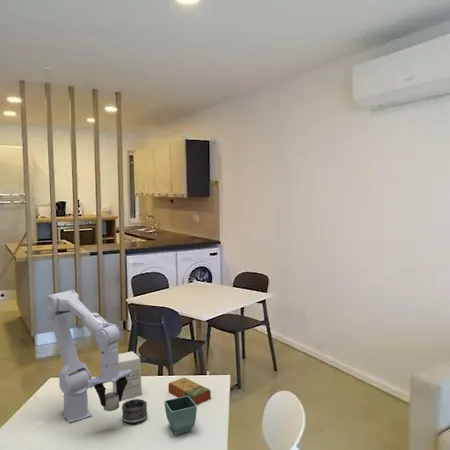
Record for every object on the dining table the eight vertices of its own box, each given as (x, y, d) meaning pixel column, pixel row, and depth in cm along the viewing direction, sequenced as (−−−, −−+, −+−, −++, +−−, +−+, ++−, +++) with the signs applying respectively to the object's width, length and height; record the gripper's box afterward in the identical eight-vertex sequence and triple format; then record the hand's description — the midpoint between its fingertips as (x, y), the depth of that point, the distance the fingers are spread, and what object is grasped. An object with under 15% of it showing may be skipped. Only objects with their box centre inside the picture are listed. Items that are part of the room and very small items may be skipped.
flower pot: (164, 426, 151) (163, 400, 150) (189, 420, 154) (188, 395, 153) (172, 439, 143) (171, 411, 142) (198, 432, 146) (197, 406, 145)
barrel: (118, 417, 157) (117, 403, 157) (140, 410, 162) (140, 396, 162) (128, 427, 150) (128, 413, 150) (151, 419, 155) (151, 405, 155)
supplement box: (112, 392, 177) (110, 355, 176) (134, 386, 182) (132, 350, 181) (119, 401, 169) (117, 362, 168) (142, 395, 174) (140, 357, 173)
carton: (185, 386, 182) (185, 376, 181) (211, 399, 170) (211, 388, 170) (168, 393, 176) (168, 382, 176) (194, 407, 164) (193, 395, 164)
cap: (101, 406, 149) (100, 395, 149) (115, 402, 152) (115, 390, 152) (107, 412, 145) (106, 400, 145) (121, 408, 148) (121, 396, 148)
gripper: (92, 372, 140) (93, 414, 141) (135, 360, 148) (136, 400, 149) (84, 365, 146) (86, 405, 147) (126, 354, 154) (127, 393, 155)
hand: (111, 402), depth 148 cm, fingers closed on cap, 5 cm apart
